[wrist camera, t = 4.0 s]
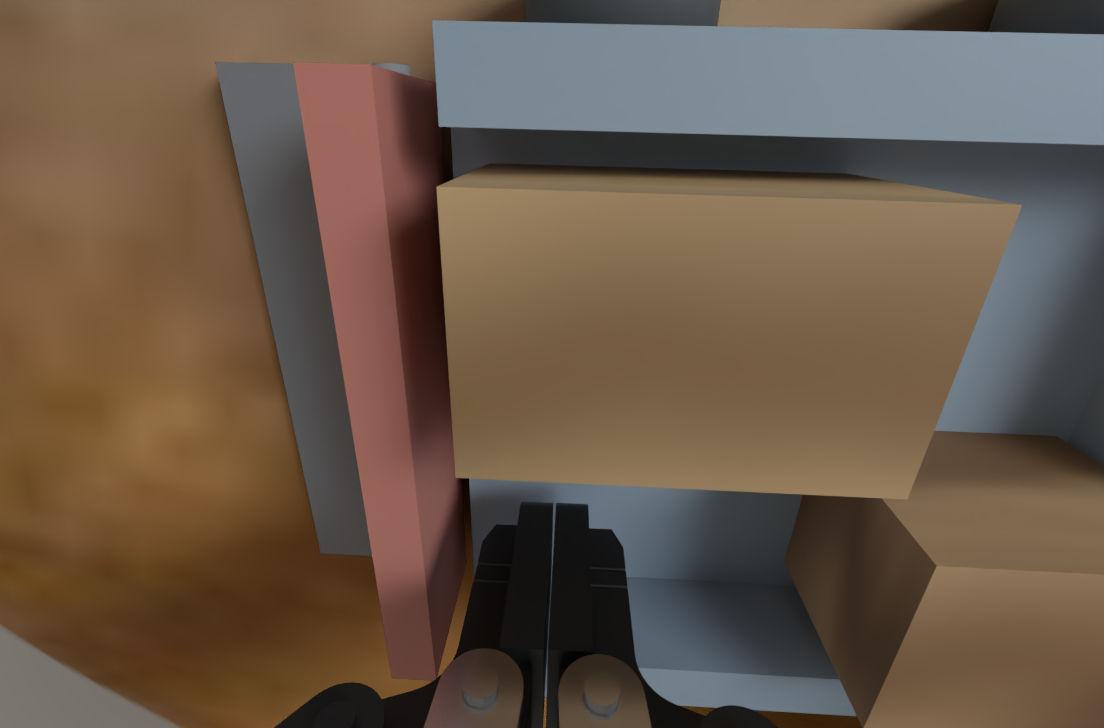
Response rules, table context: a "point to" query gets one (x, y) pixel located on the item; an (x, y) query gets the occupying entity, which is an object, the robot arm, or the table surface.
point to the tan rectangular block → (707, 324)
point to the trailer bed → (730, 144)
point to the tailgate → (391, 335)
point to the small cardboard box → (964, 587)
